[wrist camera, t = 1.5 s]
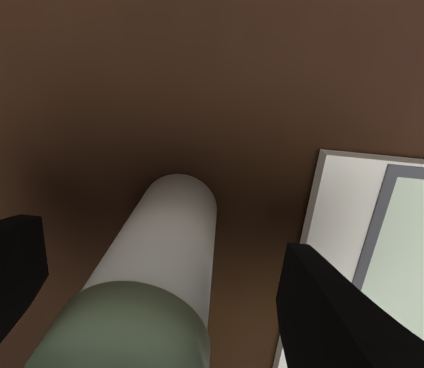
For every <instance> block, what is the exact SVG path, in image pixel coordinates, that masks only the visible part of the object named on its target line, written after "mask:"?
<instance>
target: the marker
mask: <svg viewBox="0 0 424 368" xmlns="http://www.w3.org/2000/svg"><path fill="white" fill-rule="evenodd" d="M216 217H217V205H216V200H215V198H214V195H213V194H212V192H211V190H210V189H209V188H208V187H207V186H206V185H205V184H204V183H203V182H202V181H200V180H198V179H197V178H195V177H192V176H189V175H185V174H170V175H166V176H163V177H161V178H159V179H157V180H156V181H154V182H153V183H152V184H151V185H150V186H149V188H148V189H147V190H146V192H145V194H144V195H143V197H142V198H141V200H140V201H139V203H138V204H137V206H136V207H135V209H134V210H133V212H132V213H131V215H130V216H129V218H128V220H127V221H126V223H125V224H124V226H123V227H122V229H121V230H120V232H119V233H118V235H117V236H116V238H115V239H114V241H113V242H112V244H111V246H110V247H109V249H108V250H107V252H106V253H105V255H104V256H103V258H102V259H101V261H100V262H99V264H98V265H97V267H96V268H95V270H94V272H93V273H92V275H91V276H90V278H89V279H88V281H87V282H86V284H85V285H84V287H83V288H82V290H81V291H80V292H79V293H78V294H76V295H75V296H74V297H73V298H72V299H71V300H69V302H68V303H67V304H66V305H65V307H64V308H63V310H62V311H61V312H60V314H59V315H58V317H57V318H56V320H55V321H54V323H53V324H52V326H51V327H50V329H49V330H48V332H47V333H46V335H45V336H44V338H43V339H42V340H41V342H40V343H39V345H38V346H37V348H36V349H35V351H34V352H33V354H32V355H31V357H30V358H29V360H28V361H27V363H26V364H25V366H24V367H23V368H209V365H210V346H211V345H210V338H209V334H208V331H207V327H208V315H209V303H210V290H211V278H212V266H213V254H214V241H215V229H216Z"/></svg>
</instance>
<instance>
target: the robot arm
mask: <svg viewBox="0 0 424 368" xmlns="http://www.w3.org/2000/svg"><path fill="white" fill-rule="evenodd" d="M48 275H49V273H48V265H47V257H46V249H45V241H44V233H43V225H42V218H41V217H40V216H30V215H17V216H12V217H9V218H5V219H2V220H0V343H1V342H2V341H3V339H4V338H5V337H6V336H7V334H8V333H9V332H10V331H11V329H12V328H13V327H14V325H15V324H16V323H17V322H18V320H19V319H20V318H21V317H22V315H23V314H24V313H25V311H26V310H27V309H28V308H29V306H30V305H31V303H32V302H33V300H34V298H35V297H36V295H37V294H38V292H39V290H40V289H41V287H42V285H43V284H44V282H45V280H46V278H47V277H48ZM276 304H277V314H278V324H279V332H280V337H281V341H282V346H283V350H284V355H285V359H286V364H287V368H424V340H422V339H421V338H419V337H418V336H417V335H415V334H414V333H412V332H411V331H410V330H408V329H407V328H406V327H404V326H403V325H402V324H400V323H399V322H398V321H397V320H395V319H394V318H393V317H392V316H390V315H389V314H388V313H387V312H385V311H384V310H383V309H382V308H380V307H379V306H378V305H377V304H375V303H374V302H373V301H372V300H371V299H370V298H368V297H367V296H366V295H365V294H364V293H362V292H361V291H360V290H359V289H358V288H357V287H356V286H355V285H353V284H352V283H351V282H350V281H349V280H348V279H347V278H346V277H345V276H343V275H342V274H341V273H340V272H339V271H338V270H337V269H336V268H335V267H334V266H333V265H331V264H330V263H329V262H328V261H327V260H326V259H325V258H324V257H323V256H322V255H321V254H320V253H318V252H317V251H316V250H315V249H314V248H313V247H312V246H310V245H309V244H300V243H291V242H288V243H287V248H286V252H285V257H284V262H283V267H282V272H281V277H280V282H279V287H278V292H277V297H276Z"/></svg>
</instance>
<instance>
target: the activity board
mask: <svg viewBox="0 0 424 368" xmlns="http://www.w3.org/2000/svg"><path fill="white" fill-rule="evenodd" d="M300 244H309V245H310V246H312V247H313V248H314V249H315V250H316V251H317V252H318V253H320V254H321V255H322V256H323V257H324V258H325V259H326V260H327V261H328V262H329V263H330V264H331V265H333V266H334V267H335V268H336V269H337V270H338V271H339V272H340V273H341V274H342V275H343V276H345V277H346V278H347V279H348V280H349V281H350V282H351V283H352V284H353V285H355V286H356V287H357V288H358V289H359V290H360V291H361V292H362V293H364V294H365V295H366V296H367V297H368V298H370V299H371V300H372V301H373V302H374V303H375V304H377V305H378V306H379V307H380V308H382V309H383V310H384V311H385V312H387V313H388V314H389V315H390V316H392V317H393V318H394V319H395V320H397V321H398V322H399V323H400V324H402V325H403V326H404V327H406V328H407V329H408V330H410V331H411V332H412V333H414V334H415V335H417V336H418V337H419V338H421V339H422V340H424V159H418V158H408V157H397V156H387V155H377V154H367V153H356V152H346V151H336V150H326V149H320V152H319V157H318V161H317V166H316V171H315V175H314V180H313V184H312V189H311V193H310V198H309V203H308V207H307V212H306V216H305V221H304V225H303V230H302V235H301V239H300ZM272 368H287V364H286V359H285V355H284V350H283V346H282V341H281V337H280V335H279V340H278V344H277V349H276V354H275V358H274V363H273V367H272Z"/></svg>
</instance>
